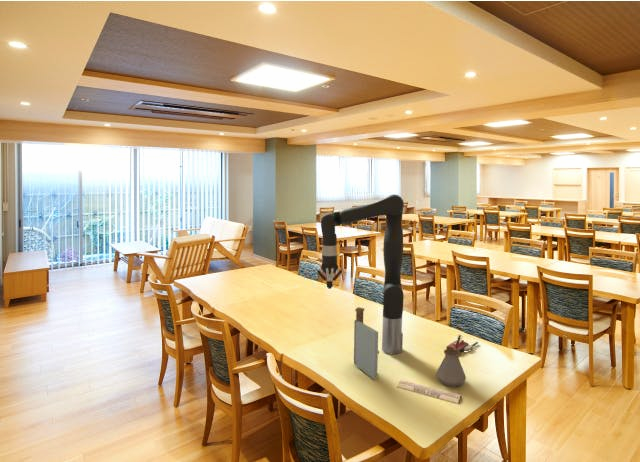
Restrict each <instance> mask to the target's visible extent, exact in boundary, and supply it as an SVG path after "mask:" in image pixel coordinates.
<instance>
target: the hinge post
mask: <svg viewBox="0 0 640 462" xmlns="http://www.w3.org/2000/svg"><path fill="white" fill-rule="evenodd" d="M364 311H365V308H364V307H356V308H355V314H356V315H355V320H359V321H360V322H362V323H364Z"/></svg>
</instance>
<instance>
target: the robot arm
mask: <svg viewBox="0 0 640 462" xmlns="http://www.w3.org/2000/svg"><path fill="white" fill-rule="evenodd" d="M404 207H405V202H404V199H403V197H401V196H400V195H399V194H391V195H389V196H387V197H386V198H383V199H380V200H378V201H376V202H373V203H369V204H368V203H367V204H363V205H357V206H353V207H347V208H345V209H342V210H338V211H333V212H328V213H326V214H324V215H323V216H322V217H321V219H320V228H321V235H322V244H321V245H322V246H321V247H322V248H321V265H320V268H319V269H316V273H317V274H318V276H320V277H321V278H322V280H323V281H326V288H328V289H332V288H333V281H336V280H337V279H338V278H339V277H340V275H341V274H342V273H343V270H342V269H341V268H340V267H339V265H338V247H337V246H338V236H337V234H336V227H338V226H340V225H345V224H346V225H347V224H352V223H356V222H360V221H363V220H367V219H371V218H374V217H379V216H385V221H386V222H385V230H384V237H383V245H382V246H383V250H382V251H383V263H384V264H383V265H384V281H383V282H384V283H383V291H382V293H383V301H382V303H383V305H382V327H381V328H382V331H381V333H382V335H381V336H382V337H381V351H382V352H383V353H386V354H389V355H398V354H401V353H402V354H403V344H404V341H403V339H404V334H403V312H404V298H405V297H404V291H403V288H402V278H401V270H402V264H403V259H404V235H403V226H402V225H403V223H402V222H403V215H404V214H403V211H404ZM323 273H324V274H325V275H326V276H325V275H324V274H323Z"/></svg>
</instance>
